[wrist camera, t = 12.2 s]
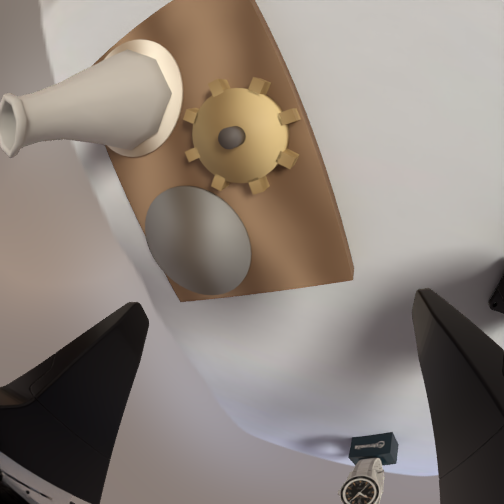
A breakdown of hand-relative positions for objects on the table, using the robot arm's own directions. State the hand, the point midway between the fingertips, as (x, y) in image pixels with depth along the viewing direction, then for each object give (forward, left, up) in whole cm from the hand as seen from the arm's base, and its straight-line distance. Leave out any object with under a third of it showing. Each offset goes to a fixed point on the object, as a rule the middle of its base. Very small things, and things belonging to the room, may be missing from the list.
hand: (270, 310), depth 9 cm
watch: (-17, +29, -12) cm, 35 cm away
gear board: (+9, -1, -12) cm, 14 cm away
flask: (+14, -5, -10) cm, 18 cm away
